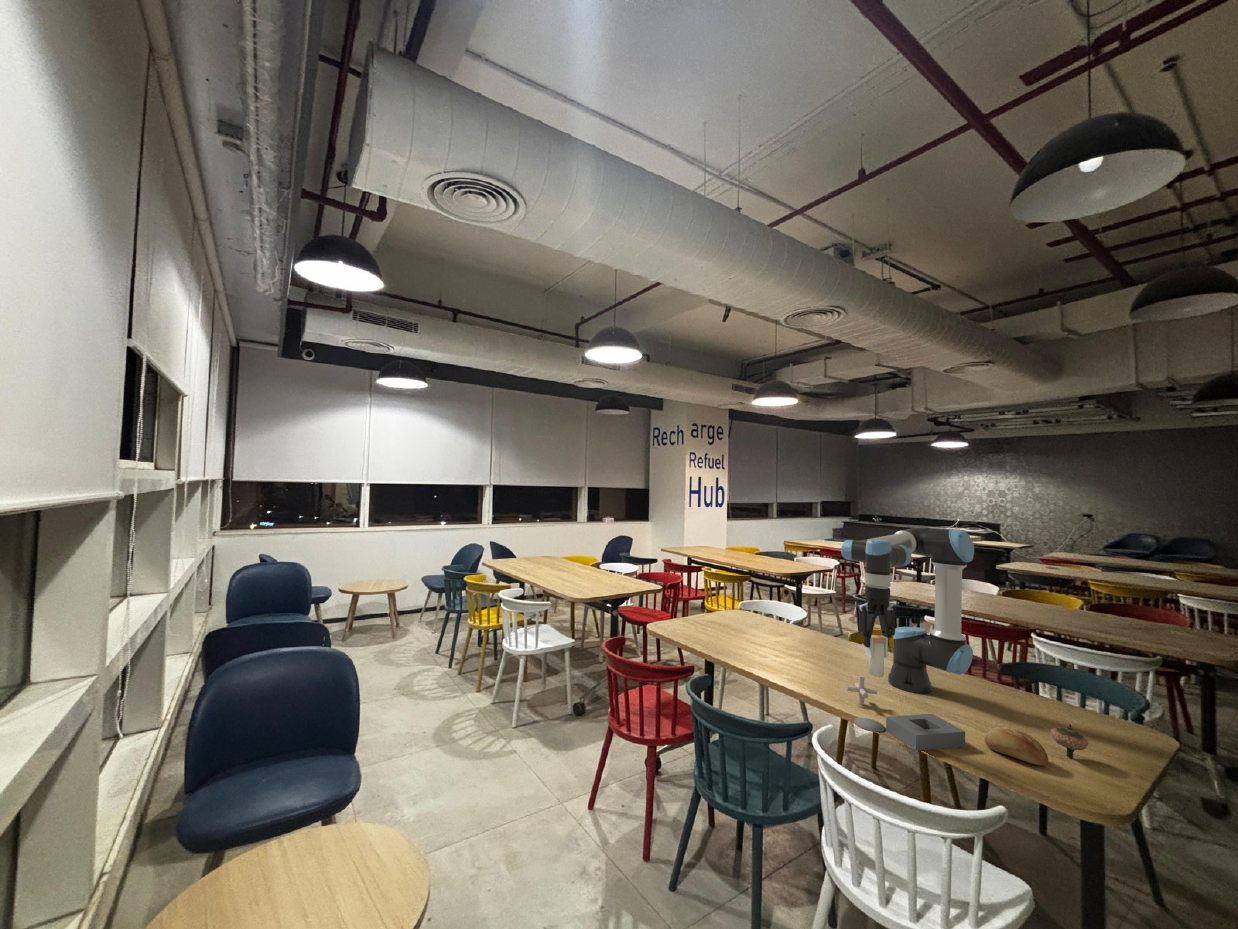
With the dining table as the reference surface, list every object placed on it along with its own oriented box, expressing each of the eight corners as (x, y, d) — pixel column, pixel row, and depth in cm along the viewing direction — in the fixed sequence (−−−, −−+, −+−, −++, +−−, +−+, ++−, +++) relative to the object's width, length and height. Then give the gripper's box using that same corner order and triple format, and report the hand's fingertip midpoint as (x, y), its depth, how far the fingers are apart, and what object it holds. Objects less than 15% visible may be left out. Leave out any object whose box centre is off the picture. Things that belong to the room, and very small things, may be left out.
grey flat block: (932, 727, 161) (932, 713, 162) (965, 746, 150) (965, 731, 150) (886, 730, 158) (886, 716, 158) (915, 750, 146) (916, 735, 146)
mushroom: (876, 671, 164) (877, 634, 164) (888, 677, 159) (889, 639, 160) (864, 671, 163) (865, 635, 163) (875, 677, 158) (876, 639, 158)
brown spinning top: (1047, 755, 147) (1047, 721, 147) (1055, 747, 151) (1055, 715, 152) (1084, 768, 140) (1084, 733, 140) (1091, 760, 145) (1091, 726, 145)
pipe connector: (880, 712, 172) (880, 683, 172) (850, 708, 174) (850, 679, 174) (871, 700, 181) (872, 673, 182) (843, 696, 183) (843, 669, 184)
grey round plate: (871, 718, 166) (871, 717, 166) (891, 731, 157) (891, 730, 157) (848, 719, 164) (848, 718, 164) (867, 733, 156) (867, 731, 156)
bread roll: (1044, 774, 136) (1044, 745, 136) (979, 751, 148) (979, 724, 148) (1051, 763, 142) (1051, 735, 142) (989, 741, 154) (989, 715, 154)
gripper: (891, 583, 168) (890, 652, 167) (846, 584, 164) (845, 653, 163) (909, 588, 161) (908, 659, 160) (862, 588, 157) (861, 661, 155)
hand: (876, 656), depth 161 cm, fingers closed on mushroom, 5 cm apart
